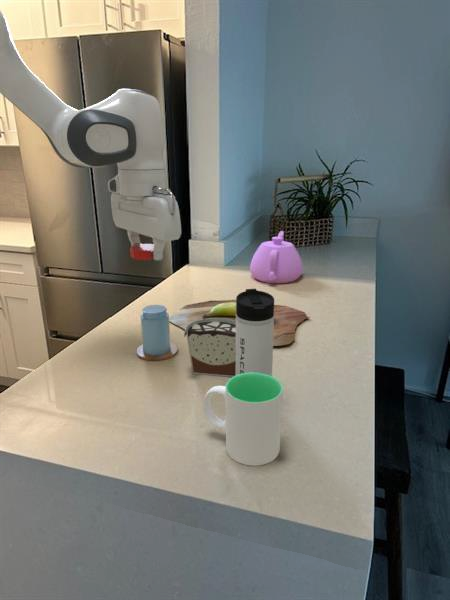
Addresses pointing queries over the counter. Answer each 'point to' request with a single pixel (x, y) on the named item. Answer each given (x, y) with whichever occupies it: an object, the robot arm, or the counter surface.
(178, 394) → the counter surface
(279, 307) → the cutting board
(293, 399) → the counter surface
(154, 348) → the jar
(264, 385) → the mug
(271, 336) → the travel mug
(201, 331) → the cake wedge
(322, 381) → the counter surface
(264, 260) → the teapot
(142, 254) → the lid
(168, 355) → the coaster
